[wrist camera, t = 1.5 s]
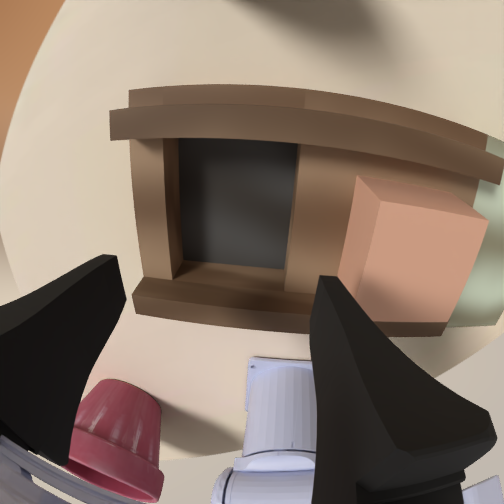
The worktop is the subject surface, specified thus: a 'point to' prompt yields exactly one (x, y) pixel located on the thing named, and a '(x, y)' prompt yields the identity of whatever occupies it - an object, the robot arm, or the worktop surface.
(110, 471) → the plant pot
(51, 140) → the worktop surface
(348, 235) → the block
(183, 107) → the chute
